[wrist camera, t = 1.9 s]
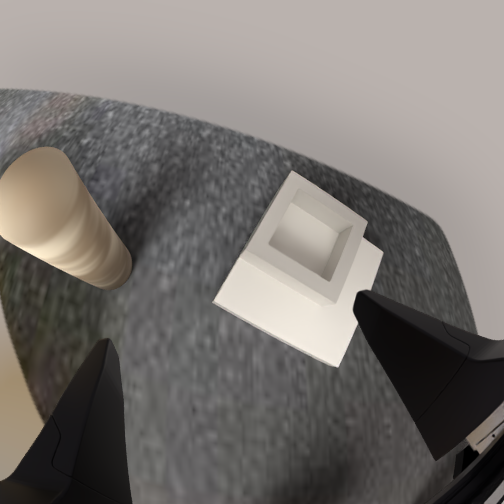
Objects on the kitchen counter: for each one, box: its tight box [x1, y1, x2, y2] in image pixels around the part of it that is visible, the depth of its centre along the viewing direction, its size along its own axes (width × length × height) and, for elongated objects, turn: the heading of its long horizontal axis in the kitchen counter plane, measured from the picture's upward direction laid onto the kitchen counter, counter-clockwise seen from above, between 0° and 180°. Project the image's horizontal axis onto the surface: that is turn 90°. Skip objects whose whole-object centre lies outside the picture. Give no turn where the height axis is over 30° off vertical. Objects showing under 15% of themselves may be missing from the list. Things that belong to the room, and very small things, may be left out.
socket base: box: [212, 171, 383, 367], centre depth 23 cm, size 12×12×4 cm
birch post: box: [0, 147, 132, 290], centre depth 15 cm, size 4×4×14 cm
